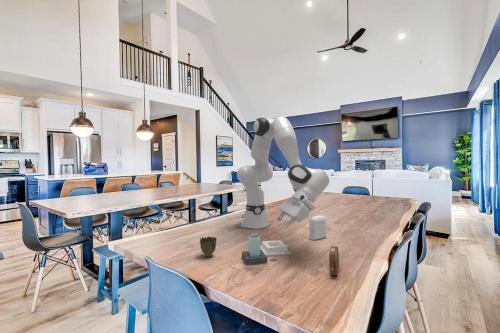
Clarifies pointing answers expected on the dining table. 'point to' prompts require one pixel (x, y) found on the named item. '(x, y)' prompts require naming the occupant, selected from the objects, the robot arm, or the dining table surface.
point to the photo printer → (317, 227)
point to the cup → (208, 245)
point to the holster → (254, 258)
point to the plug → (254, 245)
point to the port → (274, 248)
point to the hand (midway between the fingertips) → (281, 222)
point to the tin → (334, 260)
